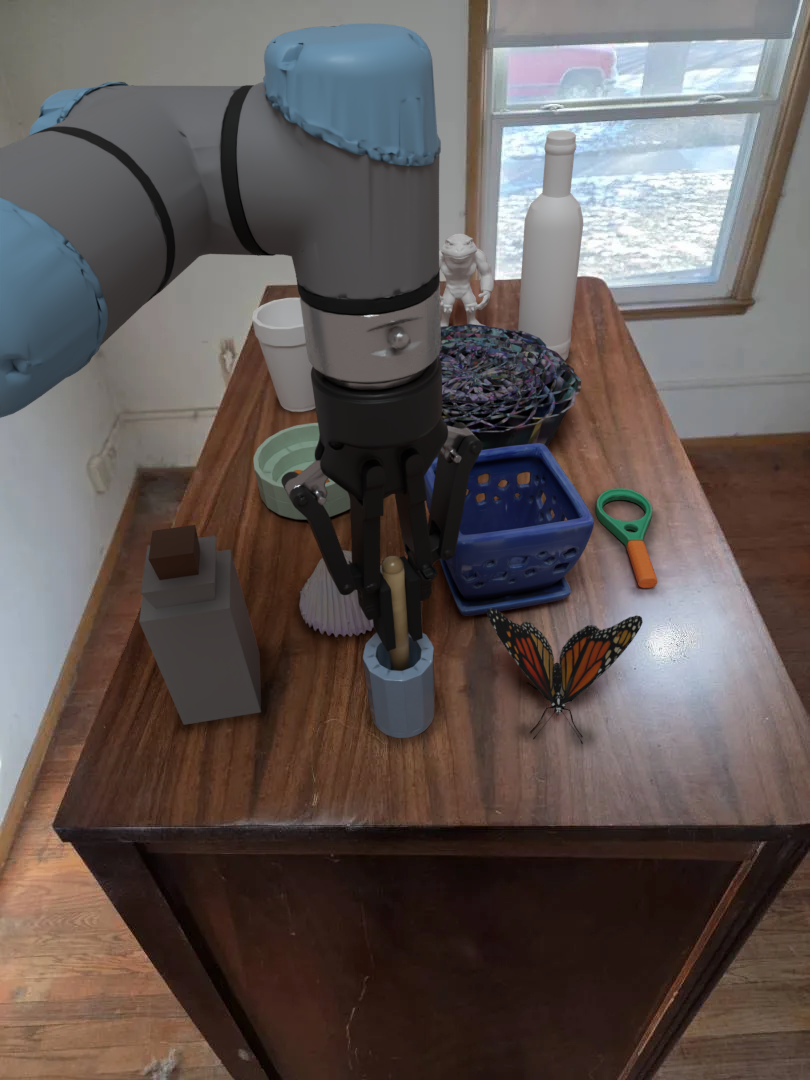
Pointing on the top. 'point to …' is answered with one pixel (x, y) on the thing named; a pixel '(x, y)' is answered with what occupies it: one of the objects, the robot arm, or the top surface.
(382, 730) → the holder
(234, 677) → the perfume bottle
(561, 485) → the flower pot
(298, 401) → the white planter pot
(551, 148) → the bottle
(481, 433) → the decorative bowl
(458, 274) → the figurine
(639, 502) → the magnifying glass
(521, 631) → the butterfly
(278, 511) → the bowl
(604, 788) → the top surface
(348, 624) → the seashell
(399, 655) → the stick
